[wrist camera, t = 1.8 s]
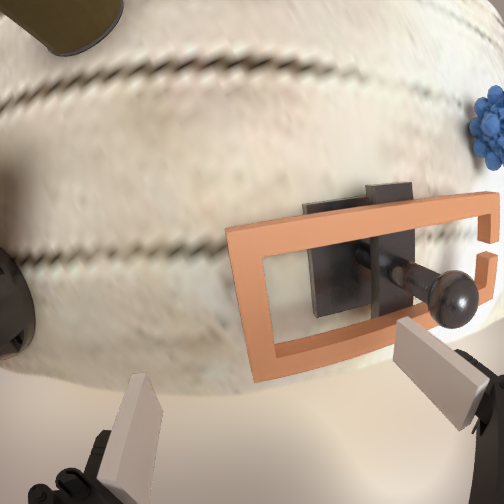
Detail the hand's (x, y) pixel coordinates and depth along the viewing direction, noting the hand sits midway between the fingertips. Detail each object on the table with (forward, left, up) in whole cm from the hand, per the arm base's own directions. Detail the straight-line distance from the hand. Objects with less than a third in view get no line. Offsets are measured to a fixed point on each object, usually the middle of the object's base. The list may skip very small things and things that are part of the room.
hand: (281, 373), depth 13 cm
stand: (+13, 0, -16) cm, 21 cm away
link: (+13, 0, -9) cm, 15 cm away
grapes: (+34, +14, -17) cm, 40 cm away
